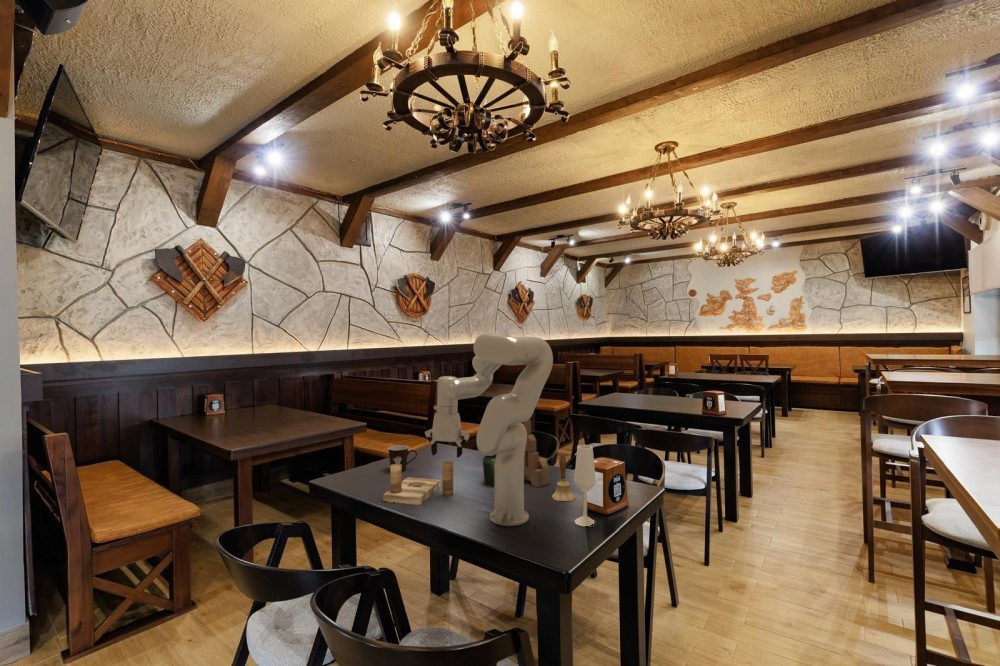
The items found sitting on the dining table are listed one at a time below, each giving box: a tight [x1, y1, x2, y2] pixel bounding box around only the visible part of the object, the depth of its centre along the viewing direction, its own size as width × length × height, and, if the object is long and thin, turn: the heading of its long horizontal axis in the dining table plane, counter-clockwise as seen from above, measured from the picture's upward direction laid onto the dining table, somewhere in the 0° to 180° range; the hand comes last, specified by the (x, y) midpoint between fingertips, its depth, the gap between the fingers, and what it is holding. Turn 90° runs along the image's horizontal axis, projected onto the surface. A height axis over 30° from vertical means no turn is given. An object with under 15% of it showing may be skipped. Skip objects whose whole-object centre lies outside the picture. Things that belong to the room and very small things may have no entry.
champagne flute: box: [573, 444, 597, 527], centre depth 146 cm, size 7×7×24 cm
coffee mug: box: [387, 444, 418, 473], centre depth 201 cm, size 12×9×10 cm
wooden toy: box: [522, 419, 550, 488], centre depth 187 cm, size 16×7×25 cm, turn 39°
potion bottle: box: [482, 455, 497, 487], centre depth 184 cm, size 8×8×18 cm
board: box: [382, 464, 442, 506], centre depth 172 cm, size 20×14×12 cm
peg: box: [441, 460, 454, 497], centre depth 171 cm, size 4×4×12 cm
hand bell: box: [551, 453, 576, 502], centre depth 168 cm, size 8×8×16 cm
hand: (446, 455), depth 172 cm, fingers open, 9 cm apart
